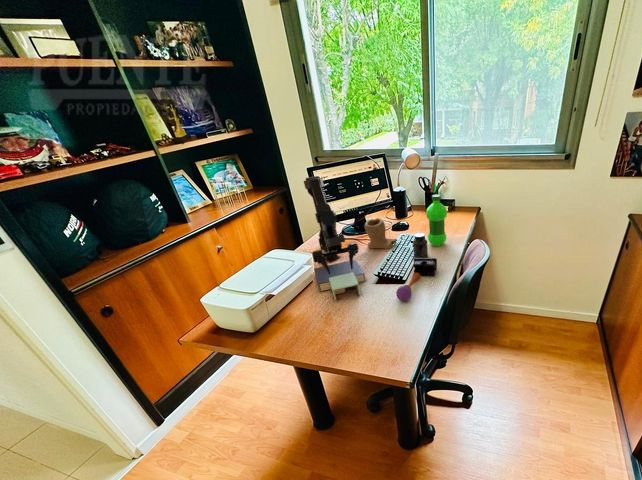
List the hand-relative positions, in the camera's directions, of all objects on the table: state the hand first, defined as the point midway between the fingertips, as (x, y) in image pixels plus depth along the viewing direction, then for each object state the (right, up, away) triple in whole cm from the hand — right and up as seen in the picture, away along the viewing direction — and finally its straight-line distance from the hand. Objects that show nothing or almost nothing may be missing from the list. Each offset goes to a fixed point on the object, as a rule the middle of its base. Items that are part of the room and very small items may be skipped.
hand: (341, 271), depth 133 cm
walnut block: (+2, -5, +6) cm, 8 cm away
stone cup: (+14, +19, +41) cm, 47 cm away
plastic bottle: (+44, +20, +39) cm, 61 cm away
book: (-4, -1, +16) cm, 16 cm away
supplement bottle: (+34, +10, +26) cm, 44 cm away
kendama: (+28, -8, +2) cm, 29 cm away
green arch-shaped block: (-1, -3, +7) cm, 8 cm away
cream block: (-2, -6, +5) cm, 8 cm away
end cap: (+36, +1, +14) cm, 38 cm away
